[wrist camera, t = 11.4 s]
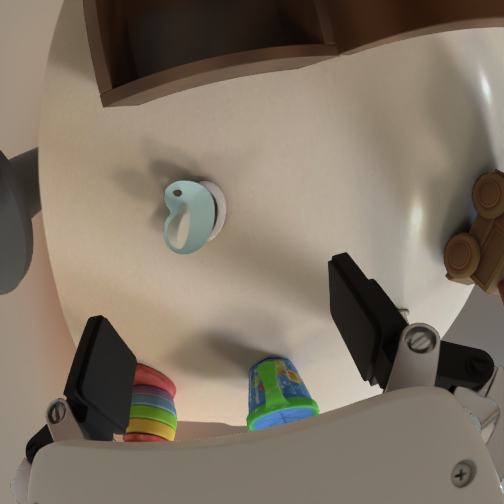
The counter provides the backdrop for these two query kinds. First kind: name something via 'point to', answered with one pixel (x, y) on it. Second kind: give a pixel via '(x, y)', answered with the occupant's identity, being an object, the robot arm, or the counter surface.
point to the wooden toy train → (481, 240)
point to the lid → (405, 20)
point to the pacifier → (192, 215)
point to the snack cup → (277, 395)
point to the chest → (199, 43)
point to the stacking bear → (151, 408)
